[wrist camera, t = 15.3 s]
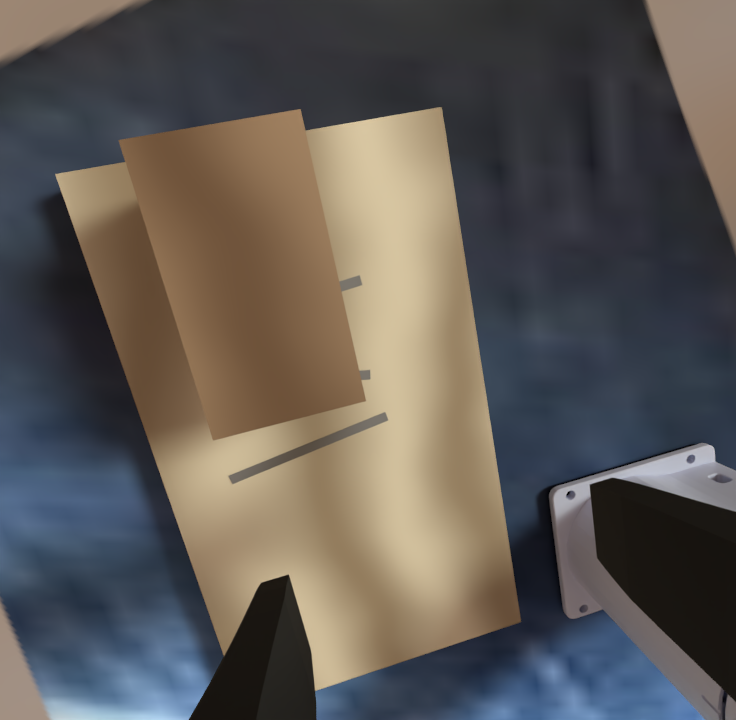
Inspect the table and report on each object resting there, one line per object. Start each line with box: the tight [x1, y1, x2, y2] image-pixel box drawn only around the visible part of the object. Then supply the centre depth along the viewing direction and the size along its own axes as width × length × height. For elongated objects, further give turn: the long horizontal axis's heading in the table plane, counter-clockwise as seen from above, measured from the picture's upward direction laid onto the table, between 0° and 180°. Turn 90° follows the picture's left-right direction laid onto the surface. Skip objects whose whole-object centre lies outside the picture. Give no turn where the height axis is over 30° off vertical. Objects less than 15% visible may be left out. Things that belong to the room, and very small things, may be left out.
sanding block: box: [119, 109, 366, 441], centre depth 14 cm, size 4×8×5 cm, turn 12°
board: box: [55, 107, 521, 691], centre depth 19 cm, size 14×24×2 cm, turn 12°
